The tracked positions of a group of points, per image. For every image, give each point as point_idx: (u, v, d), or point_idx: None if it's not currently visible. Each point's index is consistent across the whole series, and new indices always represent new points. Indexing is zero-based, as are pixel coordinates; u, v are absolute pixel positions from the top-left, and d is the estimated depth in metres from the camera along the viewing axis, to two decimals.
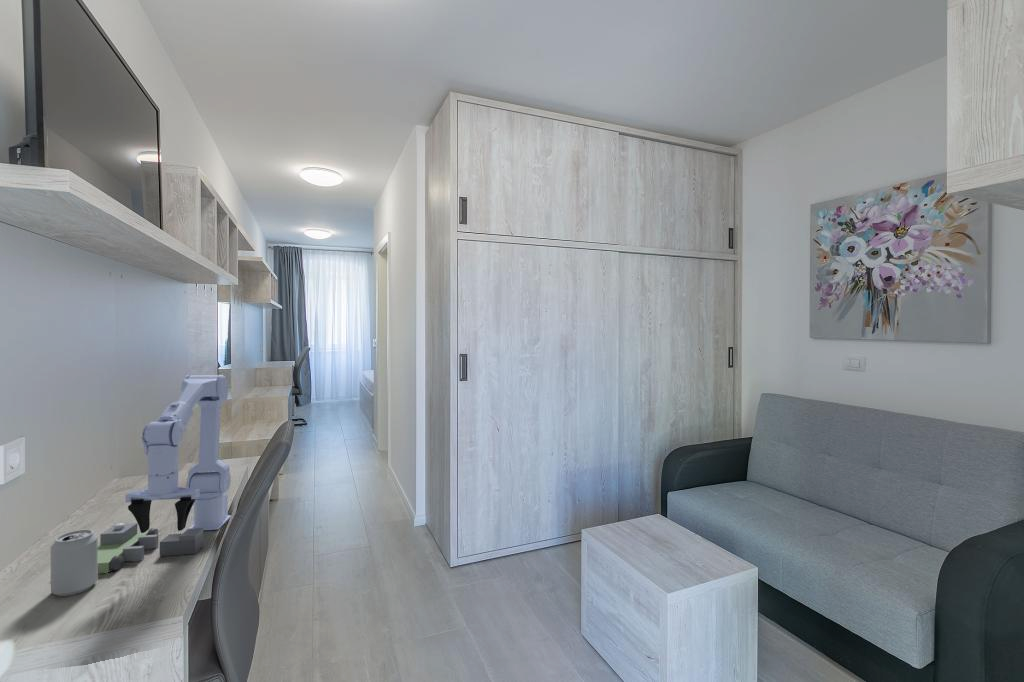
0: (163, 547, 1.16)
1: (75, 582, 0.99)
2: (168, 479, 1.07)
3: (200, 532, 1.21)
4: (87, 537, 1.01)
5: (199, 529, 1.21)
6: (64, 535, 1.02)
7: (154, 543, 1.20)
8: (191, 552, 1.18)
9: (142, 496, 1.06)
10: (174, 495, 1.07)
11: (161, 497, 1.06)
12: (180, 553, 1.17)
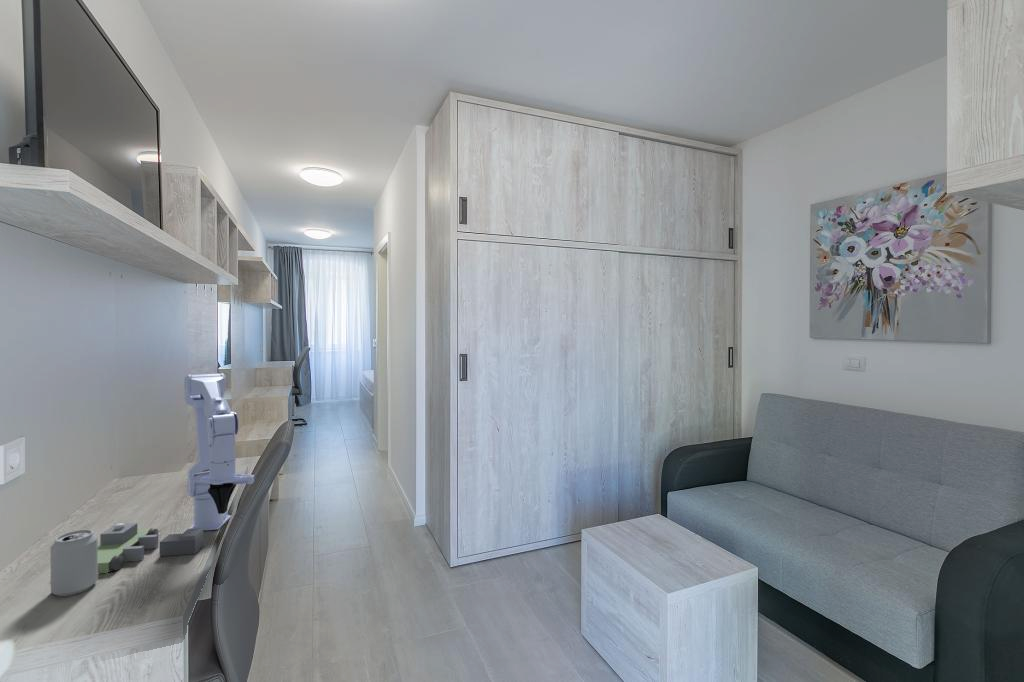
0: (163, 547, 1.16)
1: (75, 583, 0.99)
2: (228, 466, 1.19)
3: (200, 532, 1.21)
4: (87, 537, 1.01)
5: (199, 529, 1.21)
6: (64, 535, 1.02)
7: (154, 543, 1.20)
8: (191, 552, 1.18)
9: (205, 481, 1.18)
10: (233, 480, 1.19)
11: (222, 482, 1.18)
12: (180, 553, 1.17)
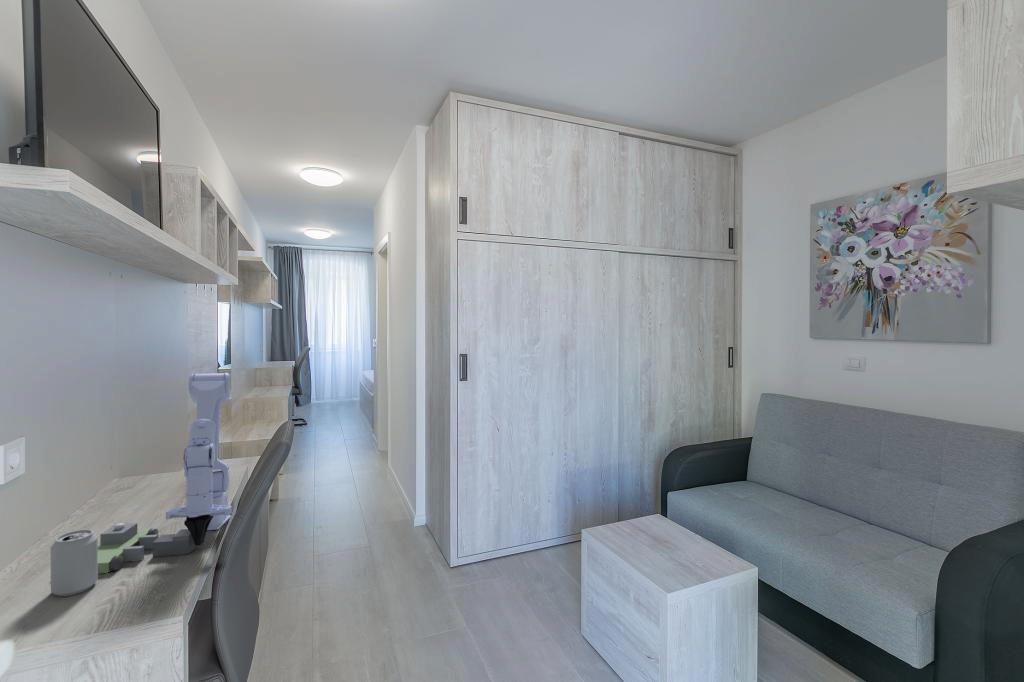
0: (156, 547, 1.16)
1: (75, 583, 0.99)
2: (204, 498, 1.18)
3: None
4: (87, 537, 1.01)
5: None
6: (64, 535, 1.02)
7: None
8: (185, 552, 1.17)
9: (181, 513, 1.17)
10: (210, 512, 1.18)
11: (198, 514, 1.17)
12: (173, 553, 1.17)
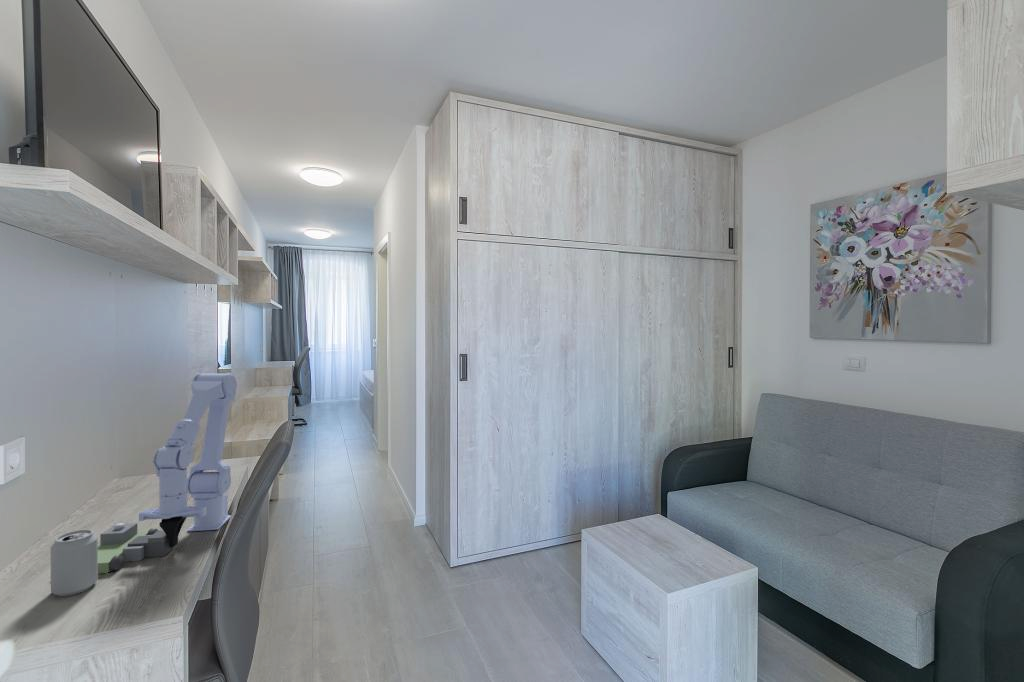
0: None
1: (75, 583, 0.99)
2: (178, 499, 1.17)
3: None
4: (87, 537, 1.01)
5: None
6: (64, 535, 1.02)
7: None
8: (160, 554, 1.16)
9: (154, 515, 1.16)
10: (183, 514, 1.17)
11: (172, 516, 1.16)
12: (149, 555, 1.16)
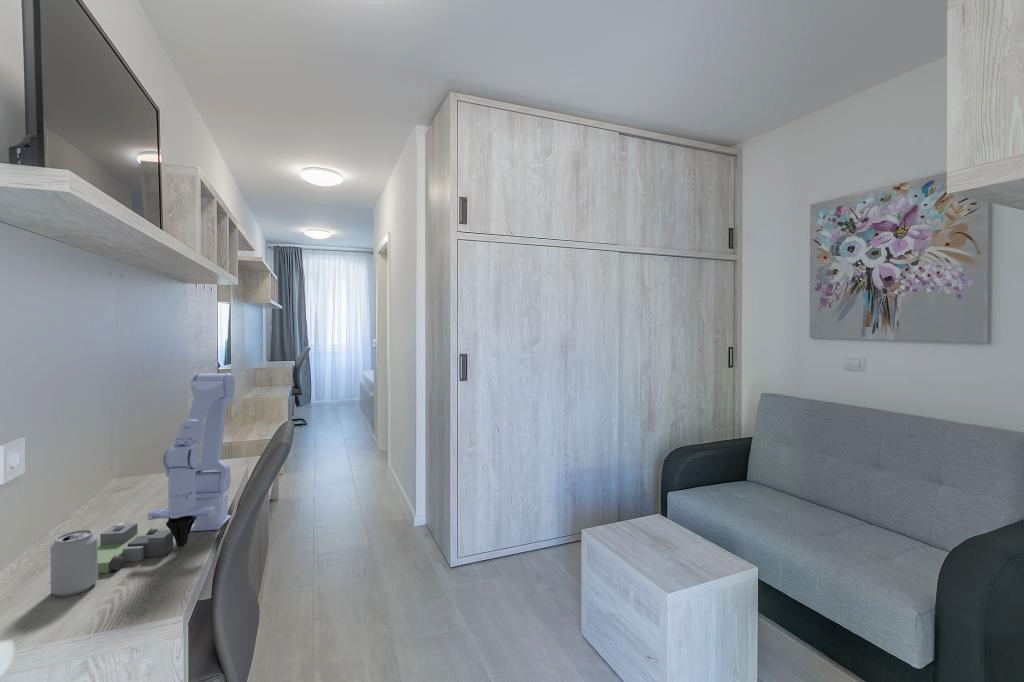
0: None
1: (75, 583, 0.99)
2: (186, 499, 1.17)
3: (170, 534, 1.19)
4: (87, 537, 1.01)
5: (169, 531, 1.20)
6: (64, 535, 1.02)
7: None
8: (160, 554, 1.16)
9: (163, 514, 1.16)
10: (192, 513, 1.18)
11: (180, 515, 1.16)
12: (149, 555, 1.16)
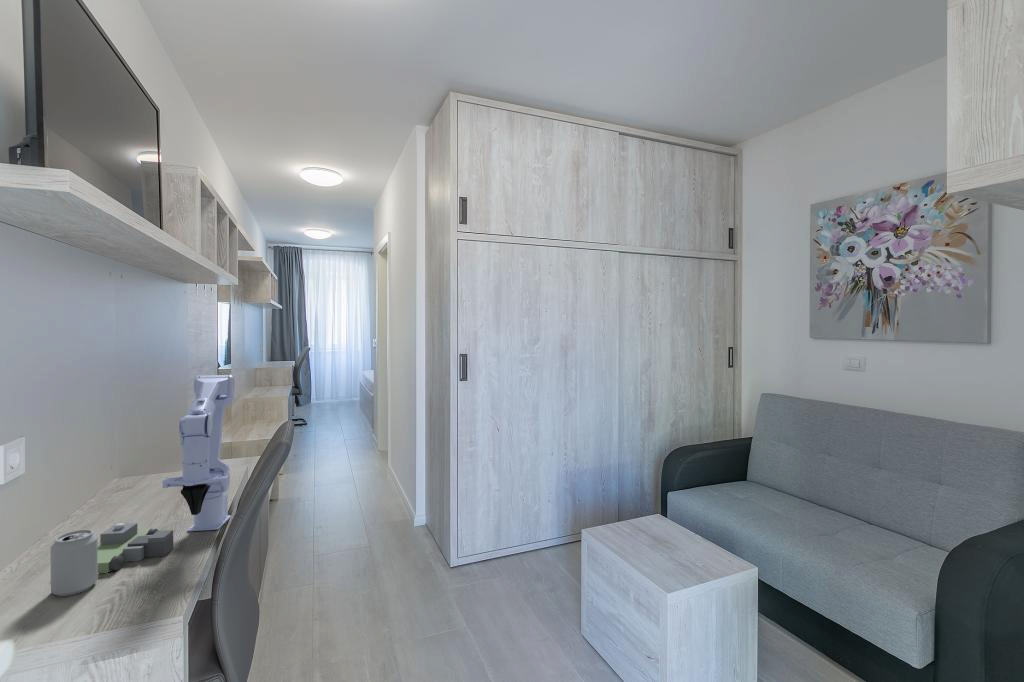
0: None
1: (75, 583, 0.99)
2: (200, 467, 1.18)
3: (170, 534, 1.19)
4: (87, 537, 1.01)
5: (169, 531, 1.20)
6: (64, 535, 1.02)
7: None
8: (160, 554, 1.16)
9: (177, 482, 1.17)
10: (206, 481, 1.19)
11: (195, 483, 1.17)
12: (149, 555, 1.16)
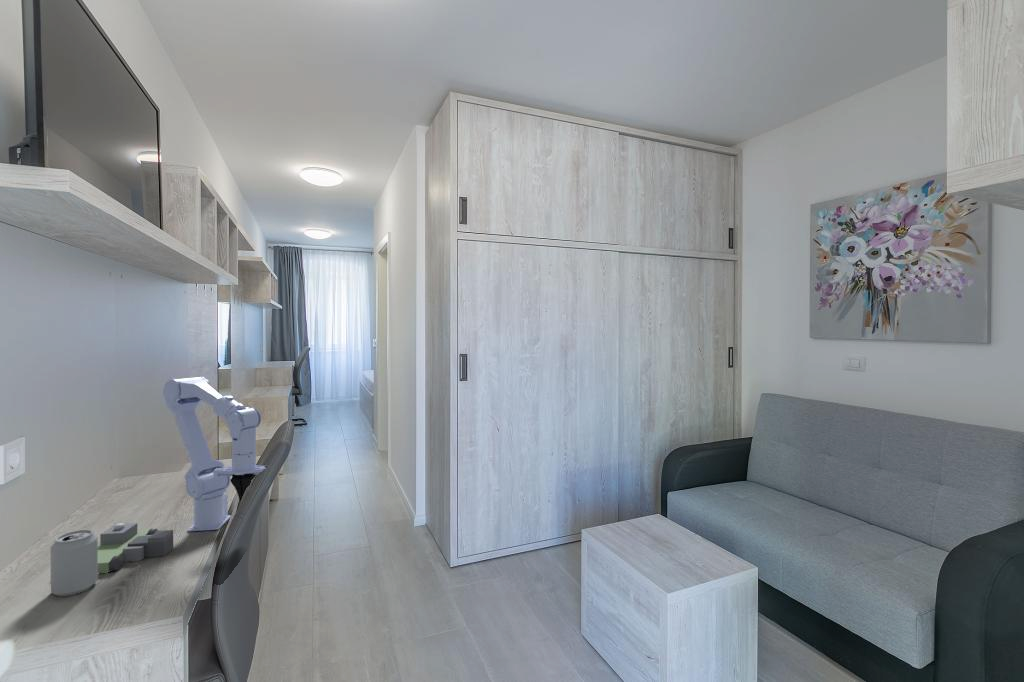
0: None
1: (75, 583, 0.99)
2: (249, 457, 1.27)
3: (170, 534, 1.19)
4: (87, 537, 1.01)
5: (169, 531, 1.20)
6: (64, 535, 1.02)
7: None
8: (160, 554, 1.16)
9: (227, 471, 1.26)
10: (254, 471, 1.27)
11: (244, 472, 1.26)
12: (149, 555, 1.16)
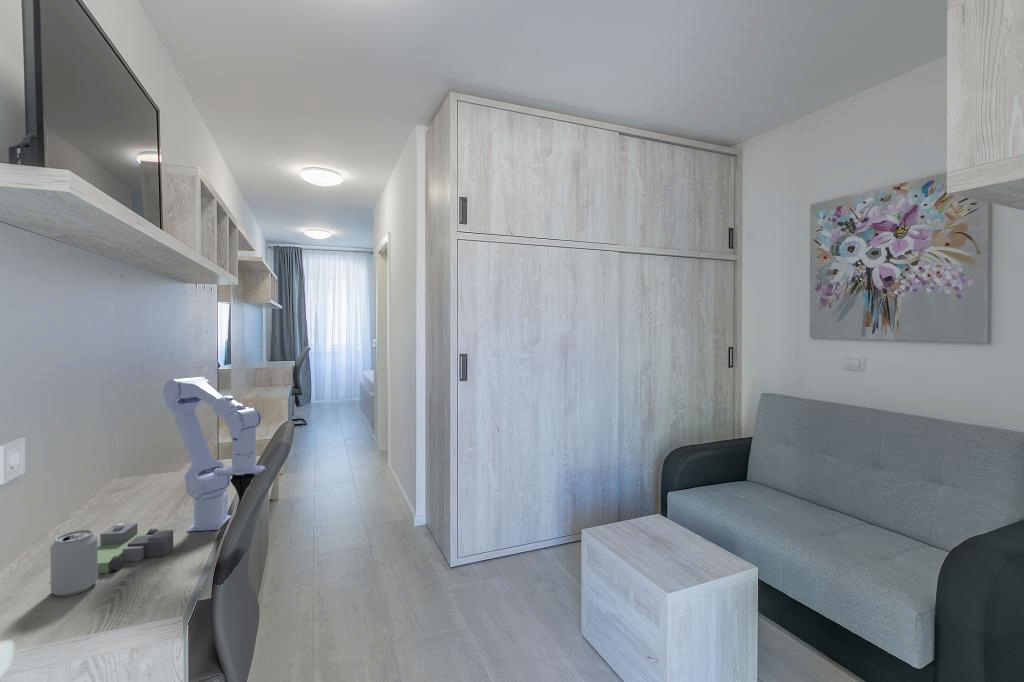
0: None
1: (75, 583, 0.99)
2: (249, 457, 1.27)
3: (170, 534, 1.19)
4: (87, 537, 1.01)
5: (169, 531, 1.20)
6: (64, 535, 1.02)
7: None
8: (160, 554, 1.16)
9: (227, 471, 1.26)
10: (254, 471, 1.27)
11: (244, 472, 1.26)
12: (149, 555, 1.16)
